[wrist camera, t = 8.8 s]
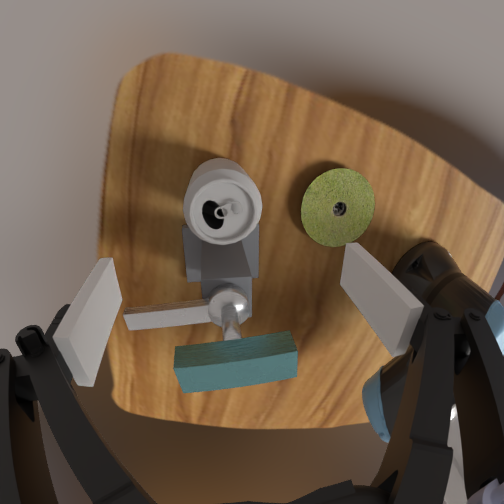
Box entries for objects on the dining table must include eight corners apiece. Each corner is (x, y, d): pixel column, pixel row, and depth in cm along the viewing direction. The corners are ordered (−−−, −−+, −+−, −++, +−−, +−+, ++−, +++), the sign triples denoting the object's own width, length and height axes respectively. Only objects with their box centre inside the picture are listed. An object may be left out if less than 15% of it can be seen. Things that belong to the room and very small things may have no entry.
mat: (280, 207, 39) (283, 211, 37) (337, 149, 36) (343, 150, 34) (329, 256, 43) (334, 261, 41) (380, 204, 41) (387, 208, 39)
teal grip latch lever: (123, 297, 27) (98, 367, 18) (270, 277, 29) (297, 346, 20) (134, 327, 29) (117, 399, 20) (272, 310, 30) (296, 380, 21)
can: (181, 169, 35) (168, 189, 24) (237, 148, 35) (251, 159, 24) (201, 221, 38) (200, 262, 27) (255, 202, 38) (275, 236, 27)
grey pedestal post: (257, 221, 39) (277, 261, 28) (257, 273, 42) (274, 325, 32) (182, 225, 38) (173, 267, 27) (188, 277, 41) (183, 332, 30)
